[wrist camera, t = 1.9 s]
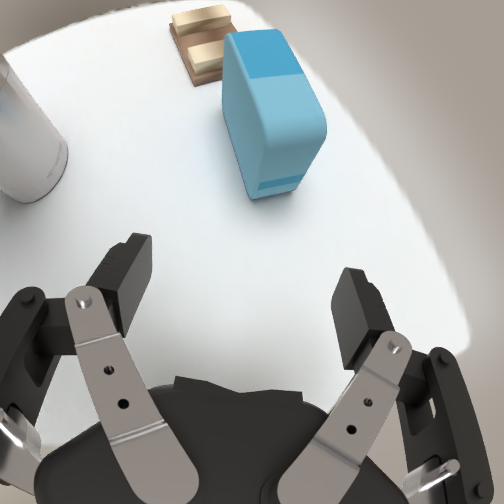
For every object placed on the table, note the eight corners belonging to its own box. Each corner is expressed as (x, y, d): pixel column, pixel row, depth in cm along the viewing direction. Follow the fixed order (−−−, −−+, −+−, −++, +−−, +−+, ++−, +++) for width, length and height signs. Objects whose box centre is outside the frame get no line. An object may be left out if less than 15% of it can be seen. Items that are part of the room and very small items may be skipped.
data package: (294, 194, 31) (333, 129, 19) (250, 204, 30) (268, 138, 18) (259, 101, 33) (276, 21, 21) (221, 108, 32) (224, 26, 20)
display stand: (194, 86, 32) (193, 68, 29) (169, 29, 34) (167, 13, 31) (257, 71, 33) (260, 53, 30) (223, 17, 35) (224, 1, 32)
